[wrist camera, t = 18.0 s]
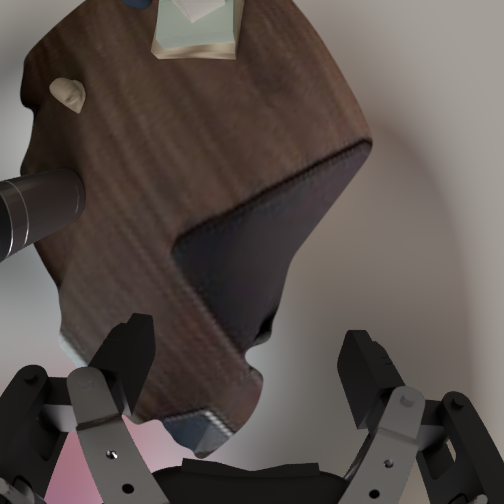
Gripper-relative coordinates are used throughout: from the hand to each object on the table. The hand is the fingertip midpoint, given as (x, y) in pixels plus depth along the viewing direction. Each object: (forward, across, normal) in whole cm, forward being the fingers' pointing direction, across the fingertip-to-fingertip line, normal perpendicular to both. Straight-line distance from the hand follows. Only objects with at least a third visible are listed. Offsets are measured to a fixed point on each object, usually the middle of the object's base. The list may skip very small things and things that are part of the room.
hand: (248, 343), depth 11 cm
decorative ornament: (+30, +29, -16) cm, 45 cm away
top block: (+27, +9, -26) cm, 38 cm away
